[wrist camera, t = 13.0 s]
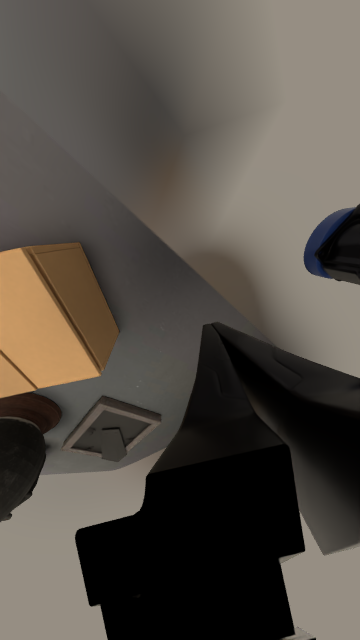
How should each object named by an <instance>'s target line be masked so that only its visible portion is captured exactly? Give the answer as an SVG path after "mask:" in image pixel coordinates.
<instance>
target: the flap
mask: <svg viewBox="0 0 360 640" xmlns="http://www.w3.org/2000/svg"><path fill="white" fill-rule="evenodd" d="M0 349H1V350H2V351H3V352H4V353H5V354H6V356H7V357H8V358H9V359H10V360H11V361H12V362H13V363H14V364H15V365H16V366H17V367H18V368H19V369H20V370H21V371H22V372H23V373H24V374H25V375H26V376H27V377H28V378H29V379H30V380H31V381H32V382H33V383H34V384H35V385H36V386H37V387H38V388H44V387H49V386H54V385H59V384H64V383H68V382H73V381H78V380H83V379H88V378H93V377H98V376H101V374H102V373H101V371H100V369H99V368H98V366H97V365H96V363H95V361H94V360H93V358H92V356H91V355H90V353H89V352H88V350H87V348H86V347H85V345H84V343H83V342H82V340H81V339H80V337H79V335H78V334H77V332H76V330H75V329H74V327H73V326H72V324H71V322H70V321H69V319H68V317H67V316H66V314H65V313H64V311H63V309H62V308H61V306H60V304H59V303H58V301H57V300H56V298H55V296H54V295H53V293H52V291H51V290H50V288H49V287H48V285H47V283H46V282H45V280H44V278H43V277H42V275H41V274H40V272H39V270H38V269H37V267H36V265H35V264H34V262H33V261H32V259H31V257H30V256H29V254H28V252H27V251H26V249H25V248H17V249H12V250H8V251H3V252H0Z"/></svg>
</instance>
